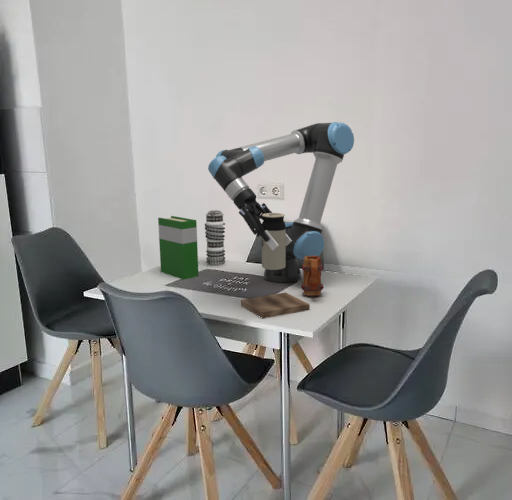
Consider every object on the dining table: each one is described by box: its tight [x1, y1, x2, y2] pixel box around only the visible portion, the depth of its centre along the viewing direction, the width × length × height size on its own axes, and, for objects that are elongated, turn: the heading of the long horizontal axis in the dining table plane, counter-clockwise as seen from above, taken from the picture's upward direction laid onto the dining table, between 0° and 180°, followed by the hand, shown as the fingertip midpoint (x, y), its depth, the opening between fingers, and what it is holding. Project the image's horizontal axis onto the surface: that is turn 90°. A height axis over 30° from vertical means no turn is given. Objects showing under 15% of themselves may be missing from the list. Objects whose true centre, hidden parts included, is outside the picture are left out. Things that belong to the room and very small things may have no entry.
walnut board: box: [240, 292, 311, 319], centre depth 185 cm, size 18×16×2 cm
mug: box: [300, 256, 325, 297], centre depth 195 cm, size 15×8×15 cm, turn 178°
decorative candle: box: [204, 209, 226, 268], centre depth 245 cm, size 9×9×25 cm
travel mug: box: [261, 212, 286, 270], centre depth 180 cm, size 8×8×18 cm
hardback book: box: [157, 215, 199, 280], centre depth 230 cm, size 18×7×24 cm, turn 42°
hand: (282, 245), depth 178 cm, fingers closed on travel mug, 8 cm apart
